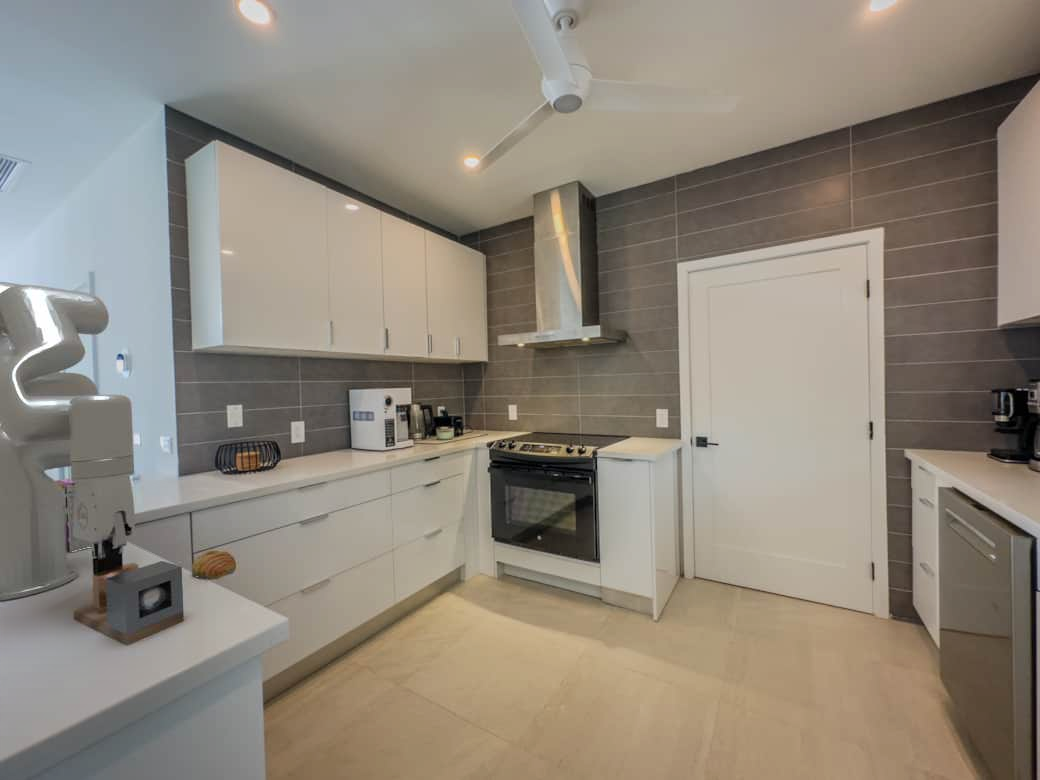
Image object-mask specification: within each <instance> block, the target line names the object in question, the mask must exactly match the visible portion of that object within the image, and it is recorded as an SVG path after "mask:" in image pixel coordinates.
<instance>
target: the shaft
mask: <svg viewBox="0 0 1040 780" xmlns="http://www.w3.org/2000/svg"><path fill="white" fill-rule="evenodd" d="M138 568H139V564H138V563H135V562H130V563H128V564H123V566H120V567H117V568H113V569H110V570H107V571H103V572H100V573H97V574H92V588H93V589H92V592H93V593H92V595H93V603H94V606H95V607H97V608H99V609H100V608H103V607H106V606H107V601H106V578H109V577H112V576H116V575H119V574H122V573H125V572H128V571H132V570H135V569H138ZM138 595H139V606H140V607H142V608H145V609H154V608H156V607H158V606H159V605H160V604H161V603H162V602H163V601H164V599H165V596H166V592H165V590H164V589H163V588H160V587H157V586H152V587H149V588H147V589H144V590H141V591H138Z"/></svg>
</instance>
